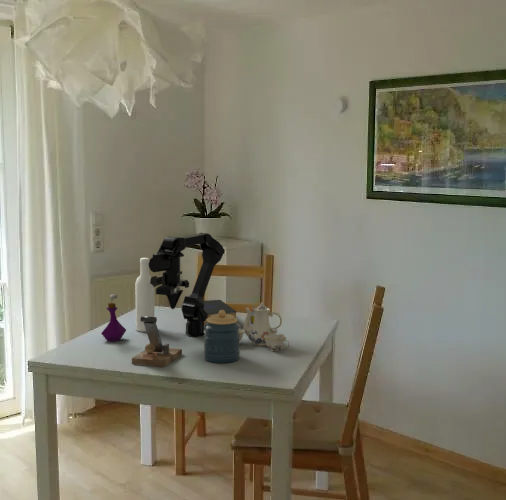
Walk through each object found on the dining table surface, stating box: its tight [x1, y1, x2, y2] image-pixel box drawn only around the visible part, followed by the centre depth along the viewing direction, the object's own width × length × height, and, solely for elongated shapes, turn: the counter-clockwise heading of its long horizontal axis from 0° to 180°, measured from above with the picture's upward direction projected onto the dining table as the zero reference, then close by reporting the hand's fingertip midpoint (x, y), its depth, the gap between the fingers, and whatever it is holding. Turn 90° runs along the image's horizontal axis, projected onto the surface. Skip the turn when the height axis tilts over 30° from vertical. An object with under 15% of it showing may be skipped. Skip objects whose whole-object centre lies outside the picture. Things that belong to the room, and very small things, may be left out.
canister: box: [203, 310, 241, 364], centre depth 236 cm, size 13×13×18 cm
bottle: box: [134, 257, 155, 333], centre depth 273 cm, size 8×8×30 cm
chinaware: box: [239, 301, 290, 352], centre depth 254 cm, size 28×17×17 cm, turn 69°
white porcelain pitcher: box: [240, 305, 257, 330], centre depth 276 cm, size 8×8×10 cm
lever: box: [140, 316, 164, 353], centre depth 231 cm, size 2×5×16 cm
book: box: [204, 299, 238, 325], centre depth 292 cm, size 17×25×7 cm
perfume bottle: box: [100, 293, 127, 342], centre depth 258 cm, size 8×8×18 cm
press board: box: [131, 342, 183, 368], centre depth 235 cm, size 16×12×7 cm
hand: (172, 308), depth 256 cm, fingers closed
